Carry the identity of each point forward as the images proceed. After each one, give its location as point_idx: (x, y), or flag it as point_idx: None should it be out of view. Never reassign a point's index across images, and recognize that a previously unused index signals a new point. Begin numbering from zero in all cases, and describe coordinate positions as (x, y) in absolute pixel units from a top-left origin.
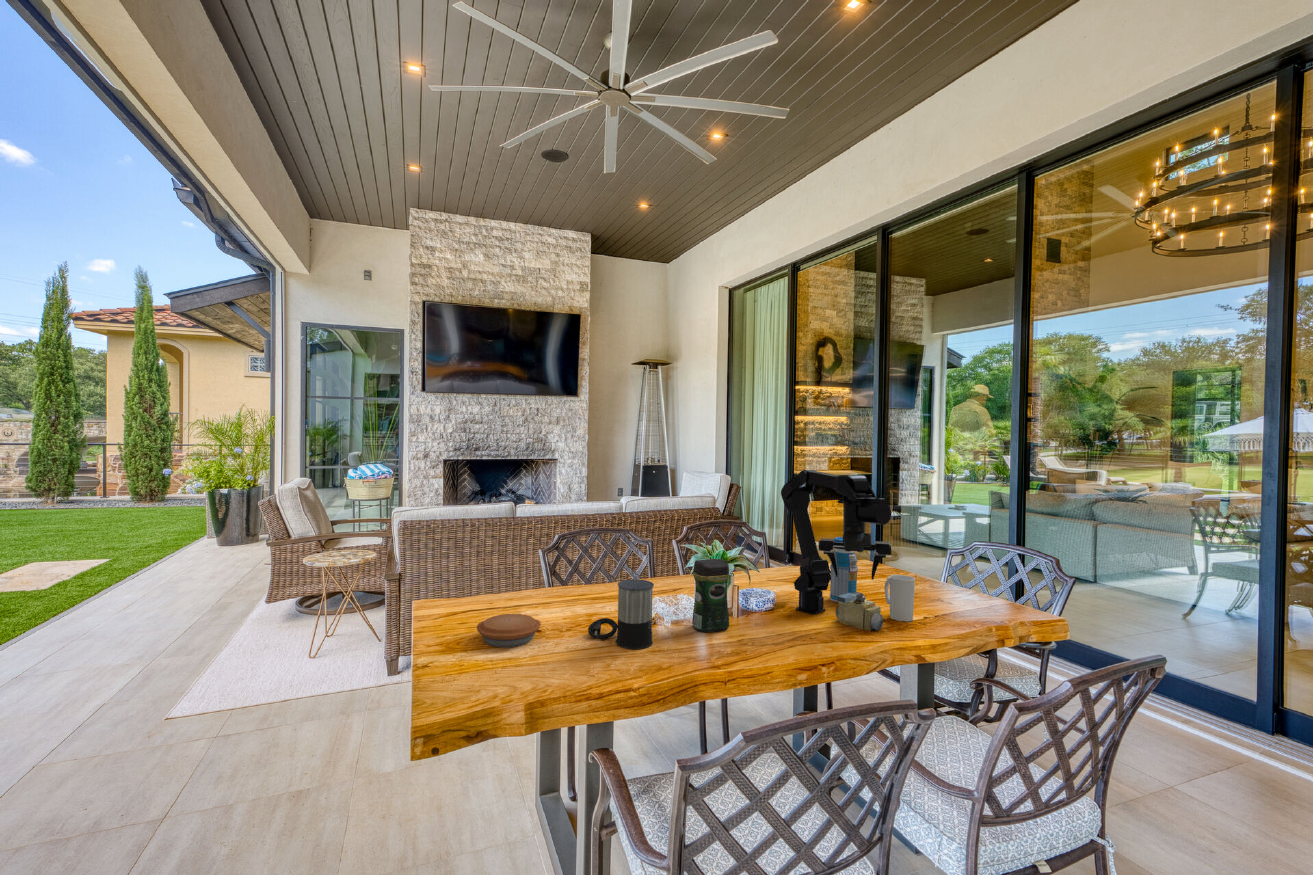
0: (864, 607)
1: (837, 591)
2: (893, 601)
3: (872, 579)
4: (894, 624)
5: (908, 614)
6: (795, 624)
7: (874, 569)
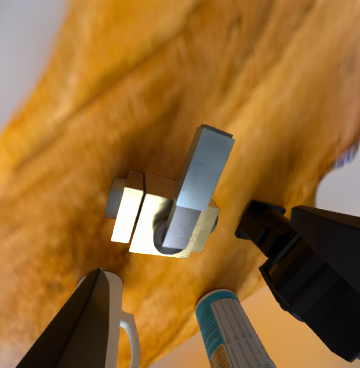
0: (145, 196)
1: (232, 307)
2: None
3: (96, 269)
4: (99, 246)
5: None
6: (278, 115)
7: (34, 361)
